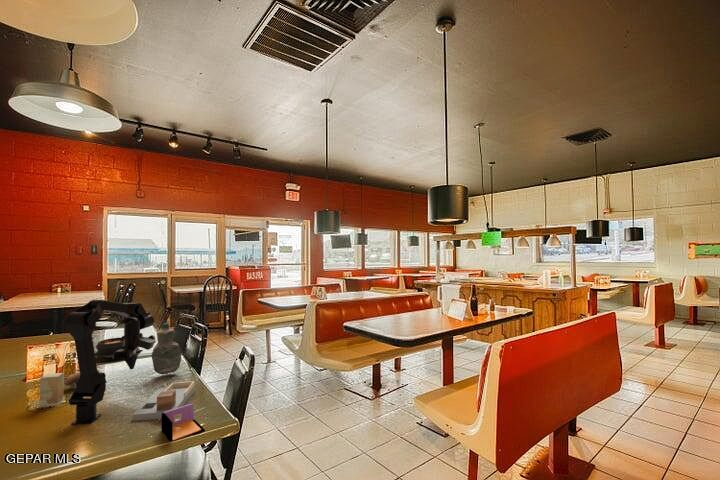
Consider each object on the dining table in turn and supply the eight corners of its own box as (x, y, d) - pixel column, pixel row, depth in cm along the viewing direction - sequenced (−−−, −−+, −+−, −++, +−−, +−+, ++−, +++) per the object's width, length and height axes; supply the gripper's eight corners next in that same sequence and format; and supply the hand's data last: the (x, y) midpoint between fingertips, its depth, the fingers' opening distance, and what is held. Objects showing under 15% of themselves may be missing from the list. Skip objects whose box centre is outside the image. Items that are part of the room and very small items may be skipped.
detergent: (180, 368, 178) (180, 320, 179) (182, 372, 172) (182, 322, 173) (151, 374, 171) (151, 323, 171) (151, 378, 165) (152, 326, 166)
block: (171, 409, 128) (171, 395, 128) (156, 410, 127) (156, 396, 127) (175, 403, 133) (175, 390, 133) (161, 404, 132) (161, 391, 132)
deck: (173, 418, 126) (173, 406, 126) (132, 421, 124) (132, 409, 124) (194, 391, 150) (194, 381, 150) (159, 393, 148) (159, 383, 148)
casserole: (89, 354, 205) (89, 339, 206) (126, 347, 219) (126, 334, 219) (98, 363, 188) (98, 348, 188) (137, 355, 202) (137, 341, 202)
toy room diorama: (156, 433, 116) (156, 412, 117) (193, 420, 125) (193, 401, 125) (167, 447, 108) (167, 425, 108) (206, 432, 116) (206, 412, 117)
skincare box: (38, 409, 134) (38, 377, 135) (45, 404, 139) (45, 373, 139) (58, 407, 136) (58, 375, 136) (64, 402, 140) (64, 372, 141)
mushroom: (60, 389, 153) (60, 375, 153) (81, 383, 160) (81, 369, 160) (68, 393, 149) (68, 378, 149) (90, 386, 156) (90, 372, 157)
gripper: (142, 336, 139) (142, 375, 139) (161, 326, 158) (161, 360, 157) (112, 338, 138) (111, 377, 137) (134, 327, 156) (134, 362, 156)
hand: (132, 368), depth 147 cm, fingers closed
